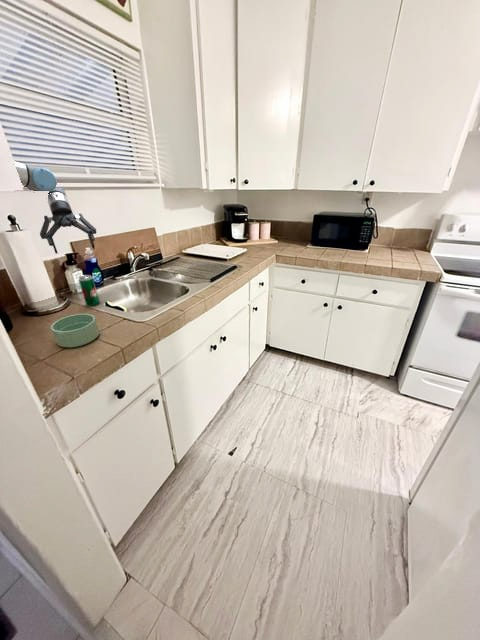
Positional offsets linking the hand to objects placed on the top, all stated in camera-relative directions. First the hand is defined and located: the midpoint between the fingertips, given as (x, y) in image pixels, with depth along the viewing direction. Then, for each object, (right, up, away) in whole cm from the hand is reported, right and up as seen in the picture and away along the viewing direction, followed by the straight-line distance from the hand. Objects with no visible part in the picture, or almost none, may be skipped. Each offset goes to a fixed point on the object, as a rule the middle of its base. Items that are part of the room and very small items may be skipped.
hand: (75, 249), depth 107 cm
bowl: (+15, -35, -22) cm, 44 cm away
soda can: (+6, -23, +2) cm, 24 cm away
